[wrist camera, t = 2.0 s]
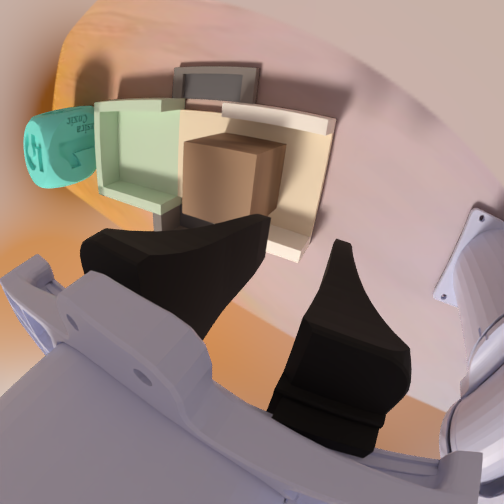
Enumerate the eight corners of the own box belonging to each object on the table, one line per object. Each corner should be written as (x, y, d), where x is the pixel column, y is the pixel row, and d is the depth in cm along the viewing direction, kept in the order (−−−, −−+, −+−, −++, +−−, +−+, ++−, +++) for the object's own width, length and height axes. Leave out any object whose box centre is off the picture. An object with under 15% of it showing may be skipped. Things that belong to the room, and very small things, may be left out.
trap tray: (342, 80, 15) (335, 74, 13) (301, 273, 24) (290, 293, 21) (118, 74, 22) (95, 76, 20) (121, 208, 30) (102, 217, 28)
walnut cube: (286, 144, 18) (257, 154, 15) (276, 207, 21) (247, 234, 17) (224, 132, 20) (183, 141, 16) (220, 191, 23) (182, 213, 19)
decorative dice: (108, 171, 29) (52, 194, 23) (75, 162, 31) (27, 181, 25) (107, 105, 24) (44, 118, 18) (74, 105, 27) (21, 119, 20)
